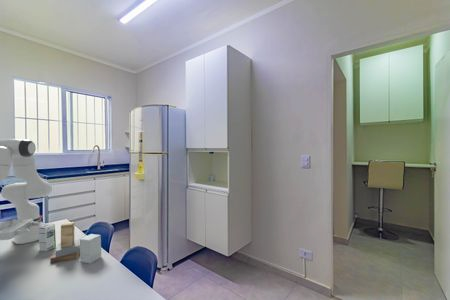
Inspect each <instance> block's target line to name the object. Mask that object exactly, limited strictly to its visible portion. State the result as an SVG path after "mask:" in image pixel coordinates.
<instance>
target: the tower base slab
mask: <svg viewBox="0 0 450 300" xmlns="http://www.w3.org/2000/svg"><path fill="white" fill-rule="evenodd" d="M78 258H80V244H79V250H78V252H77V253H73V254H68V255H64V256H60V257H56V252H55V253H54V254H53V255H52V256H51V257H50V258H49V259H50V264H54V263H62V262H68V261H73V260H77V259H78Z"/></svg>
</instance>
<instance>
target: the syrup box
mask: <svg viewBox="0 0 450 300" xmlns="http://www.w3.org/2000/svg"><path fill="white" fill-rule="evenodd" d="M45 224H46V225H43V226H41V227H38V232H39V240H38V247H39V251H42V252H48V251H50V250H51V249H52V250H53V248H57V244H56V243H57V242H56V225H55V224H54V223H45Z"/></svg>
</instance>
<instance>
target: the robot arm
mask: <svg viewBox="0 0 450 300" xmlns="http://www.w3.org/2000/svg"><path fill="white" fill-rule="evenodd" d="M35 151H36V144H35V142H33V141H32V140H30V139H22V138H0V182H1V181H4V180H5V179H6V178H8V176H9V174H10V172H11V166H12V172H13V176H14V177H15V178H17V179H18V180H19V179H20V180H22V181H23V182H15V183H9V184H5V185H4V186H3V187H2V189H1V191H0V194H1V197H2V198H3V199H4V200H6V201H8V202H10V203H11V204H12V205H13V206H14V207H15V211H16V217H17V219H16V218H11V219H8V220H3V221H0V241H5V240H6V241H8V240H11V243H12V242H13V243H14V244H16V245H20V244H21V245H22V244H29V243H33V242H36V241H39V232H38V227H41V226H43V225H46V224H47V223H45V222H43V221H42V219H43V218H44V216H43V215H40V206H39V205H38V204H37V203H34V202H32V201H30V199H39V198H43V197H47V196H49V195H50V194H51V193H52V190H53V186H52V184H51V183H50V182H49V181H46V180H44V179H43V178H42V177H41V175H39V173H38V171H37V167H36V166H37V165H36V160H35V155H34V153H35ZM1 213H2V212H1V210H0V215H1Z"/></svg>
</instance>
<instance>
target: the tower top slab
mask: <svg viewBox="0 0 450 300" xmlns="http://www.w3.org/2000/svg"><path fill="white" fill-rule="evenodd" d="M79 245H80V240H79V239H74V243H73V244H72V246H66V247H61V242H60V243H57V244H56V247H55V248H56V249H55V253H56V257H60V256H64V255H68V254H73V253H77V252H78V250H79Z"/></svg>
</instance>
